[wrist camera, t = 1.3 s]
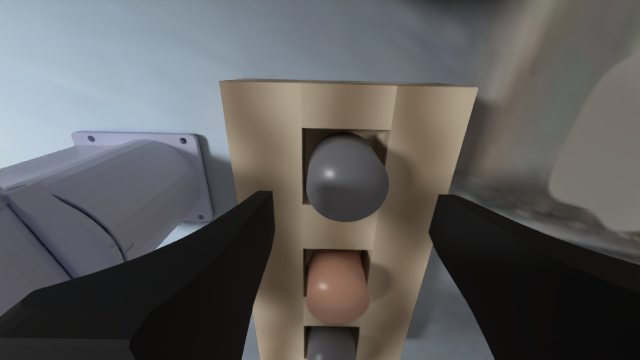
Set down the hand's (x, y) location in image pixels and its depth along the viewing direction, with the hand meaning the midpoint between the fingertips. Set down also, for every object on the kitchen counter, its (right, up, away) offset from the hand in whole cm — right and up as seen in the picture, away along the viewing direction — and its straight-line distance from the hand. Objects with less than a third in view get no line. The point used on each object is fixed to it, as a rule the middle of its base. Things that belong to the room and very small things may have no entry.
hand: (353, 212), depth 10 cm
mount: (0, -4, +12) cm, 13 cm away
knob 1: (0, +2, +5) cm, 6 cm away
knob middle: (0, -6, +9) cm, 11 cm away
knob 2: (0, -14, +13) cm, 19 cm away
